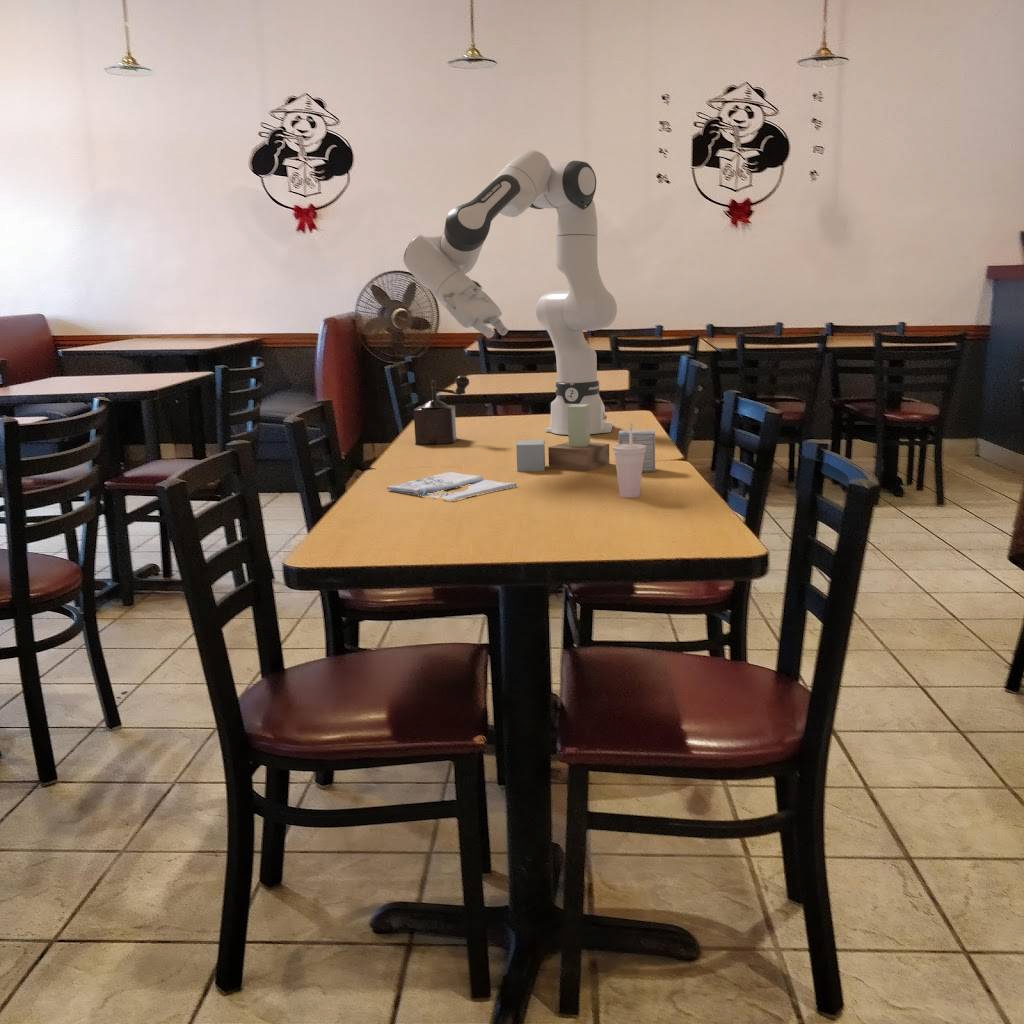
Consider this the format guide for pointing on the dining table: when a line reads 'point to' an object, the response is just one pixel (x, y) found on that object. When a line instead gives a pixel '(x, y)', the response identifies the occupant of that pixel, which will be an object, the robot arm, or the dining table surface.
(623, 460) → the smoothie
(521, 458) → the slate block
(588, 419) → the sage pillar
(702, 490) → the dining table surface
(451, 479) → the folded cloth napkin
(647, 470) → the medicine box
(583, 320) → the robot arm
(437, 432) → the coffee grinder
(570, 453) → the walnut block
